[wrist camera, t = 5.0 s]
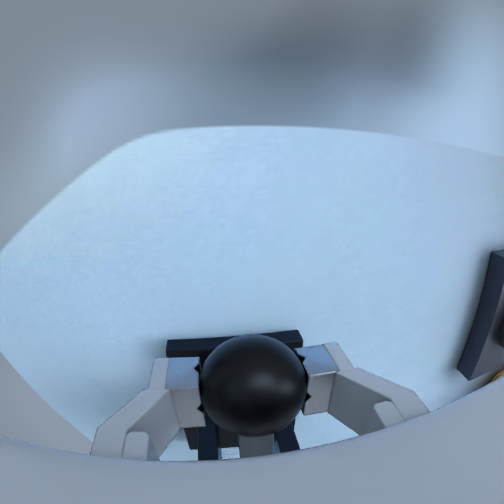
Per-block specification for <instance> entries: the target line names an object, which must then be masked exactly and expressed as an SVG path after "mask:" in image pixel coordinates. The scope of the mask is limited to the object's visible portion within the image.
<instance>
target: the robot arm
mask: <svg viewBox="0 0 504 504" xmlns="http://www.w3.org/2000/svg"><path fill="white" fill-rule="evenodd" d="M293 352H294V353H295V355H296V356H297V357H298V359H299V360H300V362H301V364H302V366H303V369H304V371H305V376H306V382H307V389H306V397H305V400H304V403H303V406H302V408H301V410H302V412H303V415H310V414H316V413H322V412H327V411H328V413H329V414H330V415H332V416H333V417H335V418H336V419H337V420H339V421H340V422H342V423H343V424H344V425H346V426H347V427H349V428H350V429H352V430H353V431H355V432H356V433H357V434H359V435H360V436H357V437H354V438H350V439H346V440H342V441H338V442H334V443H330V444H325V445H321V446H316V447H311V448H306V449H301V450H296V451H290V452H284V453H278V454H271V455H263V456H255V457H246V458H236V459H223V460H206V461H160V460H159V457H160V456H161V454H162V453H163V452H164V450H165V449H166V448H167V446H168V445H169V444H170V442H171V441H172V440H173V438H174V437H175V436H176V434H177V433H178V432H179V430H180V428H191V427H206V418H205V409H204V407H203V405H202V402H201V396H200V385H199V377H200V373H201V363H200V358H199V357H183V358H155V359H154V361H153V366H152V371H151V376H150V381H149V386H148V389H144V390H142V391H141V392H140V393H139V394H138V395H136V396H135V397H134V398H133V399H132V400H130V401H129V402H128V403H127V404H126V405H124V406H123V407H122V408H121V409H120V410H118V411H117V412H116V413H115V414H113V415H112V416H111V417H110V418H109V419H107V420H106V421H105V422H104V423H102V424H101V425H100V426H99V427H97V430H96V434H95V437H94V441H93V445H92V448H91V452H90V455H86V454H79V453H73V452H68V451H62V450H57V449H52V448H48V447H42V446H39V445H35V444H30V443H27V442H23V441H19V440H16V439H12V438H9V437H5V436H2V435H0V504H504V375H503V376H502V377H500V378H498V379H496V380H495V381H493V382H491V383H489V384H487V385H486V386H484V387H482V388H480V389H478V390H476V391H474V392H472V393H470V394H468V395H466V396H464V397H462V398H460V399H458V400H455V401H453V402H451V403H449V404H447V405H444V406H442V407H440V408H437V409H435V410H433V411H429V410H428V409H427V407H426V406H425V405H424V404H423V402H422V401H421V400H420V398H419V397H418V396H417V395H416V393H415V392H414V391H412V390H410V389H407V388H405V387H402V386H400V385H398V384H395V383H393V382H391V381H388V380H386V379H383V378H381V377H379V376H377V375H374V374H372V373H370V372H367V371H365V370H363V369H361V368H354V367H353V365H352V364H351V362H350V361H349V359H348V358H347V356H346V355H345V353H344V352H343V350H342V349H341V347H340V346H339V344H338V343H337V342H331V343H325V344H322V345H316V346H310V347H303V348H295V349H294V350H293Z"/></svg>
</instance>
